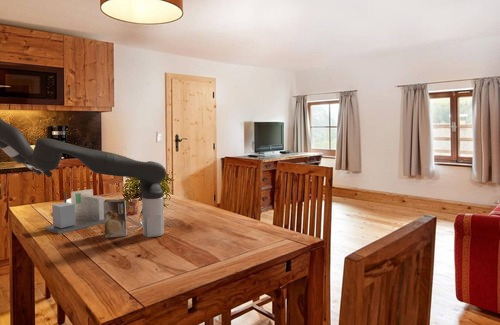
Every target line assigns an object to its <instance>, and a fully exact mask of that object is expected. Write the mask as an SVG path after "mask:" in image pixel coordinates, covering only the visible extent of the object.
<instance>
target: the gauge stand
mask: <svg viewBox="0 0 500 325" xmlns="http://www.w3.org/2000/svg"><path fill="white" fill-rule="evenodd" d="M96 196H97V195H94V189H93V188H90V189H83V190H75V191H70V198H71V203H72V204H75V222H76V225H73V226H68V227H64V228H59V227H56V226H53V224H49V225H46V226H44V230H45V231H48V232H51V233H54V234H57V235H62V234H65V233H70V232H74V231H78V230H81V229H85V228H90V227H94V226H98V225H101V224H104V198H105V197H104V198H101V197H102V196H101V197H96Z"/></svg>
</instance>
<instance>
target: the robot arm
mask: <svg viewBox="0 0 500 325" xmlns="http://www.w3.org/2000/svg"><path fill="white" fill-rule="evenodd" d="M0 149H1V150H2V151H3V152H4V153H5V154H7V156H8V157H10V158H11V159H12V160H13V161H15V163H17V164H21V165H24V166H25V168H27V169H30V170H31V171H33V173H35V174H37V175H38V176H40V175H41V174H43V175H45V176H46V177H48V178H50V177H52V176H53V172H51V171H54V170H57V169H58V167H59V166H60V165H59V164H60V161H61V159H62V155H63V154H66V155H69V156H71V157H74V158H76V159H77V160H79V161H80V162H81V163H82V164H83V165H84V166H86V168H87V169H89V170H90V171H92V172H93V173H95V174H101V175H104V176H105V175H106V176H112V177H113V176H114V177H121V178H122V177H124V178H132V179H133V178H135V179H138V180H139V184H140V185H139V188H140V189H139V190H140V192H141V199H142V201H141V203H142V205H141V206H142V209H141V210H142V211H141V212H142V235H143V237H146V238H154V237H155V238H156V237H162V235H164V234H165V233H164V232H165V230H164V229H165V225H164V222H165V220H164V217H165V216H164V191H163V189H162V187H161V182H162V181H164V180H165V178H166V177H167V170H166V168H165V167H164V166H163V165H162V163H160V162H157V161H156V162H155V161H153V160H152V161H140V160H135V159H133V158H130V157H127V156H124V155H120V154H116V153H112V152H107V151H103V150H99V149H93V148H88V147H83V146H79V145H74V144H72V143H68V142H64V141H62V140H61V141H60V140H58V139H53V138H49V137H40V138H38V139H37V140H36V141H35V145H34V148H32V146H31V145H30V143H29V142H28V140H27V139H26V137H25V135H24V134H23V133H22V132H21V131H20V129H18V128H16V127H15V126H14V125H12V124H10V123H8V122H6V121H5V120H3V119H2V118H1V117H0Z"/></svg>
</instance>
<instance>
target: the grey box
mask: <svg viewBox="0 0 500 325" xmlns="http://www.w3.org/2000/svg"><path fill="white" fill-rule="evenodd" d="M63 195H64V196H63V197H64V201H65V203H64V202H60V203H55V204H54V203H53V204H52V205H51V206H52V207H51V208H52V225H53V226H56V227H59V228H64V227H68V226H73V225H76V222H75V204H72V203H68V202H66V200H67V191H66V192H63Z"/></svg>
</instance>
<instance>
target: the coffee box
mask: <svg viewBox="0 0 500 325" xmlns="http://www.w3.org/2000/svg"><path fill="white" fill-rule="evenodd" d="M127 223H128V222H127V213H126V200H125V199H124V198H115V199H114V198H113V199H112V198H110V199H109V198H108V199H105V200H104V223H103V224H104V238H105V239H106V238H107V239H109V238H117V237H127V234H128V229H127Z"/></svg>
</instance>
